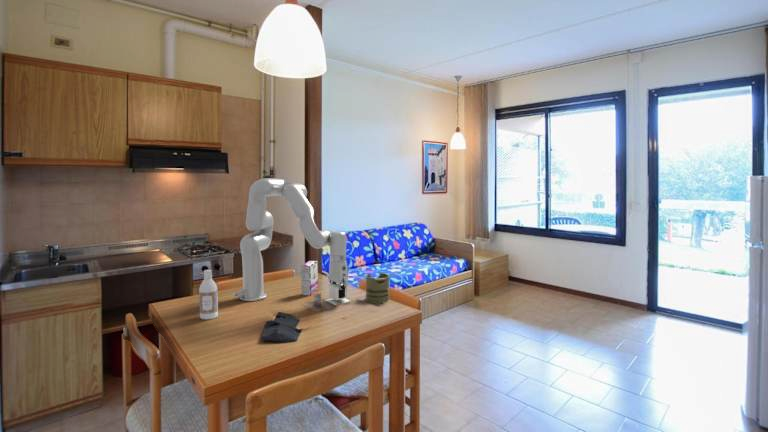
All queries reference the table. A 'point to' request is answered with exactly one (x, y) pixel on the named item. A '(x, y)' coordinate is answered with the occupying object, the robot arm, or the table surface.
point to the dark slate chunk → (282, 328)
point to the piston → (377, 288)
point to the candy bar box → (309, 277)
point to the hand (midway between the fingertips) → (337, 295)
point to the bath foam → (208, 297)
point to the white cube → (335, 291)
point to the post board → (326, 303)
